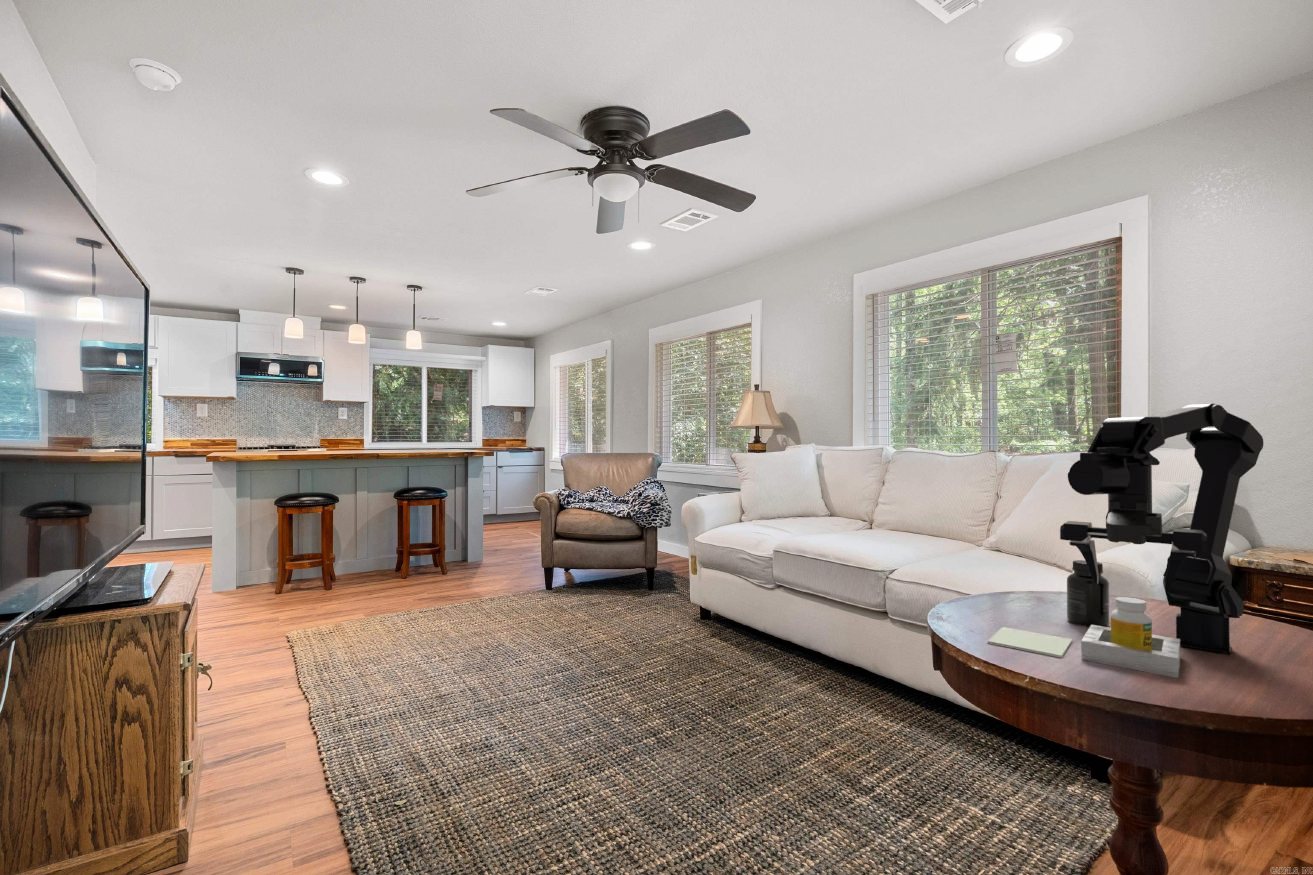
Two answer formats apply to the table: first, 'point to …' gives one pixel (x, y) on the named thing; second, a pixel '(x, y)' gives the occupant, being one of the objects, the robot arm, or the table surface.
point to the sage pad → (1031, 642)
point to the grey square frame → (1132, 652)
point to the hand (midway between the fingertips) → (1130, 587)
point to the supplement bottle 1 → (1087, 596)
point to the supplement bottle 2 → (1131, 623)
